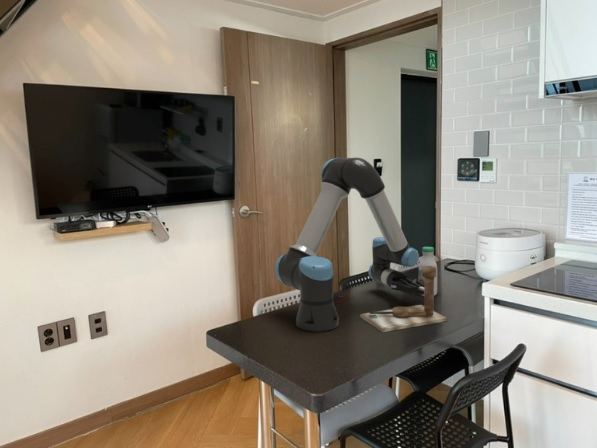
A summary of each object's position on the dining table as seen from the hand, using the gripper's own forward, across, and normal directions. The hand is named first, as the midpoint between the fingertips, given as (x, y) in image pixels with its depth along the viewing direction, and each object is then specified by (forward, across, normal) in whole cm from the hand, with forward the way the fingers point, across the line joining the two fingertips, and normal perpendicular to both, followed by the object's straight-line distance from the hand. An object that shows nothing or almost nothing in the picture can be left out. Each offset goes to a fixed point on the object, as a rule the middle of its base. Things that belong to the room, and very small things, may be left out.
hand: (431, 294), depth 165 cm
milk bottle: (-24, -17, -9) cm, 31 cm away
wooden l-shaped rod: (-3, +10, -6) cm, 12 cm away
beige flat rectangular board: (-3, +10, -8) cm, 13 cm away
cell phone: (-33, +24, -9) cm, 42 cm away
